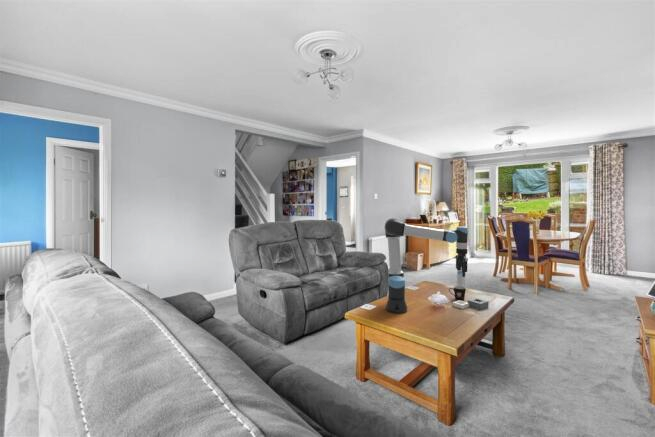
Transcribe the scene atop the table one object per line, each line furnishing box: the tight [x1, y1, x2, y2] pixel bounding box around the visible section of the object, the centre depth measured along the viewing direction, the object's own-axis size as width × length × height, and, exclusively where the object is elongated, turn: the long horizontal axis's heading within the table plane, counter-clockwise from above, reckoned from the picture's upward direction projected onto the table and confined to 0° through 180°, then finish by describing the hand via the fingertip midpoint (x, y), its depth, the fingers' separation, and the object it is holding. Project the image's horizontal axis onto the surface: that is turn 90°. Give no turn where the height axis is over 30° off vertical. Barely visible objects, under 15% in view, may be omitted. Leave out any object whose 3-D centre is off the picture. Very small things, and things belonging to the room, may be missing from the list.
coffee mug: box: [448, 285, 467, 301], centre depth 246 cm, size 12×9×10 cm
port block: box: [467, 297, 489, 310], centre depth 228 cm, size 10×10×5 cm
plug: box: [456, 271, 466, 287], centre depth 227 cm, size 4×4×10 cm
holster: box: [452, 300, 470, 310], centre depth 228 cm, size 8×8×4 cm
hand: (461, 280), depth 227 cm, fingers closed on plug, 5 cm apart
